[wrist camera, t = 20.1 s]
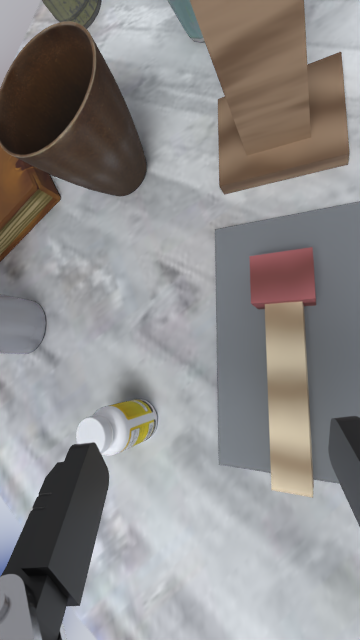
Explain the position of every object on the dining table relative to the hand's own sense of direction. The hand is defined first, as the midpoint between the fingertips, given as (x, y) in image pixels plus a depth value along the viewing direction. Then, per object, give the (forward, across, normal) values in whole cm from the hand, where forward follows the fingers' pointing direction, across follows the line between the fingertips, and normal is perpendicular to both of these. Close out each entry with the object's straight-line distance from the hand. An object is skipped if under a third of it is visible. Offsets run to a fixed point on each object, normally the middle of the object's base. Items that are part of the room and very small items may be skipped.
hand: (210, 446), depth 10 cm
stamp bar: (+19, -8, +13) cm, 24 cm away
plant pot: (+44, +9, -8) cm, 46 cm away
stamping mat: (+21, -9, +11) cm, 25 cm away
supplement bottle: (+22, +10, +21) cm, 32 cm away
